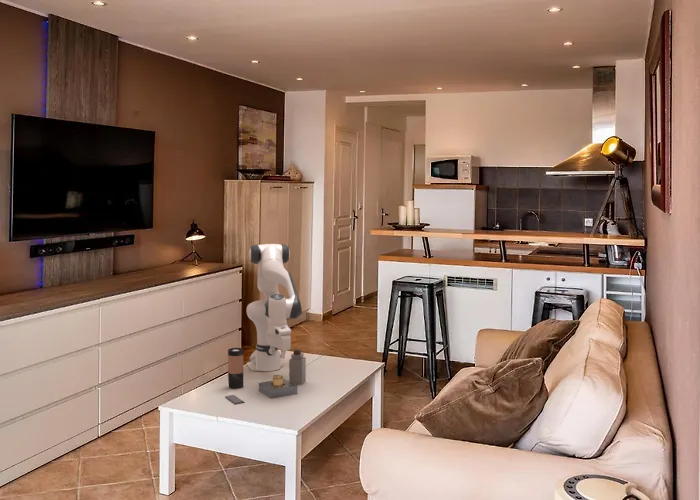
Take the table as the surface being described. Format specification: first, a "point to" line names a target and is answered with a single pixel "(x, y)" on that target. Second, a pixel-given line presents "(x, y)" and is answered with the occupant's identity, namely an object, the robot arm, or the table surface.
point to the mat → (234, 399)
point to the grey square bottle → (297, 367)
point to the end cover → (278, 380)
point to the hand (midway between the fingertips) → (278, 356)
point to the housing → (277, 389)
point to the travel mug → (235, 368)
